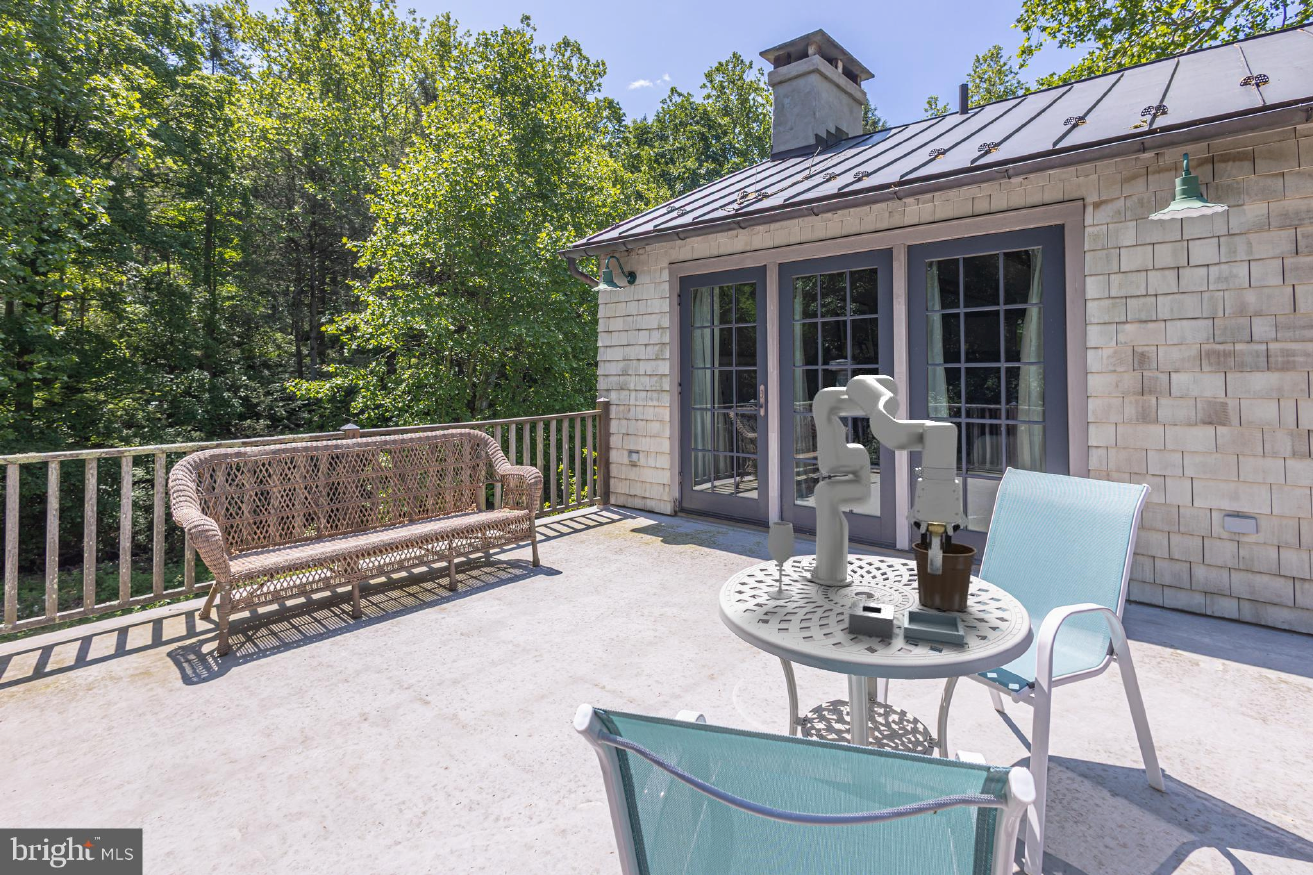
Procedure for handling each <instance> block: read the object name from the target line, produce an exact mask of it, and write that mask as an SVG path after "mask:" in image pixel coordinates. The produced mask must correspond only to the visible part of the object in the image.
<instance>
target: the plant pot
mask: <svg viewBox="0 0 1313 875" xmlns="http://www.w3.org/2000/svg"><path fill="white" fill-rule="evenodd" d="M944 542H945V540H943V546H942V571H941V574H932V573H929V572H928V556H929V540H927V549H926V550H924V547H923V546H924V545H921V540H919V541H916V542H913V543H912V544H911V546H912V549H913V551H914V553H913V554H914V560H915V562H916V563H915V566H916V575H917V576H916V578H917V592H918V601H919V603H920V604H921V605H923V606H924V607H927V608H930V609H935V610H936V609H941V610H942V611H952V612H955V611H962V610H964V609H966V608H967V605H968V597H969V590H970V583H971V574H972V567H973V566H974V564H975V562H974V561H975V556H976V554H977V552H978V550H977V548H975V547H973V546H970V545H967V544H964V543H959V542H953V541H952V542H951V548H948V552H946V551H945V550H944Z"/></svg>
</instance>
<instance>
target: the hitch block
mask: <svg viewBox="0 0 1313 875" xmlns="http://www.w3.org/2000/svg"><path fill="white" fill-rule="evenodd" d="M894 616H895V605H892V604H891V605H890V604H881V603H875V602H867V601H865V602H864V601H859V600H858V601H857V600H852V601H851V606H850V608H849V612H848V634H851V635H855V636H857V635H858V636H863V637H869V638H877V639H878V638H879V639H883V640H891V641H892V640H893V634H894V621H895V620H894Z"/></svg>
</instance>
